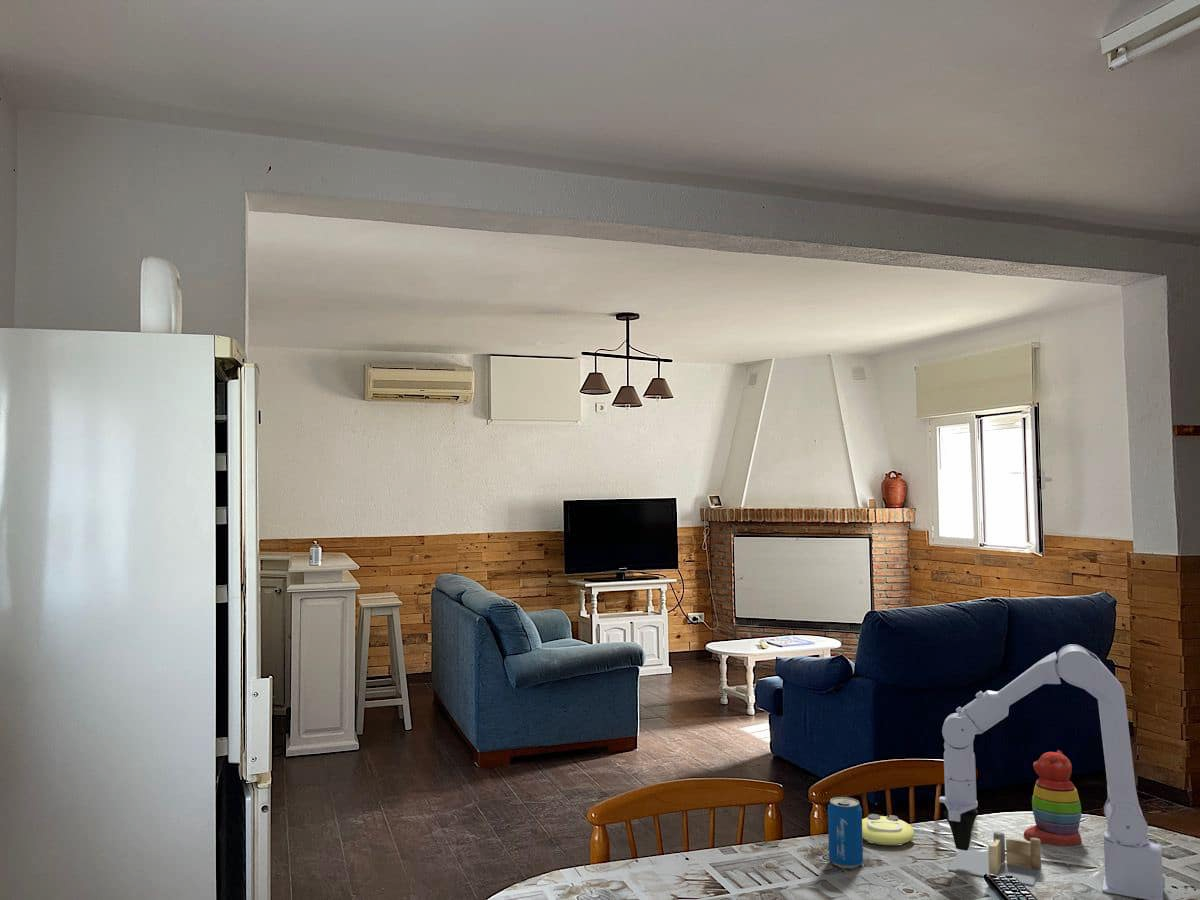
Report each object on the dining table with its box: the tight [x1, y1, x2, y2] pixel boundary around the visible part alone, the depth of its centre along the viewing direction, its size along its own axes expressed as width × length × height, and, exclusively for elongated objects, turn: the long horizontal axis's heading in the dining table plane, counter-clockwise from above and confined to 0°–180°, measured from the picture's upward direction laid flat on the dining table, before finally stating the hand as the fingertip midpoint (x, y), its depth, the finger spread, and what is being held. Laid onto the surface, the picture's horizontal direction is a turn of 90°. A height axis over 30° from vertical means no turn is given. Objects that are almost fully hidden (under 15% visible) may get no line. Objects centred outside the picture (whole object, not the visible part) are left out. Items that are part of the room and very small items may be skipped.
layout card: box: [947, 848, 1040, 887], centre depth 184 cm, size 15×13×1 cm
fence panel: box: [987, 831, 1006, 874], centre depth 183 cm, size 9×2×5 cm, turn 149°
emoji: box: [862, 813, 916, 846], centre depth 201 cm, size 4×12×12 cm
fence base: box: [1005, 837, 1042, 871], centre depth 184 cm, size 6×2×5 cm, turn 59°
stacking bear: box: [1023, 749, 1082, 846], centre depth 201 cm, size 11×10×18 cm
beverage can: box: [827, 796, 864, 869], centre depth 187 cm, size 6×6×12 cm
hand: (962, 848), depth 185 cm, fingers closed
